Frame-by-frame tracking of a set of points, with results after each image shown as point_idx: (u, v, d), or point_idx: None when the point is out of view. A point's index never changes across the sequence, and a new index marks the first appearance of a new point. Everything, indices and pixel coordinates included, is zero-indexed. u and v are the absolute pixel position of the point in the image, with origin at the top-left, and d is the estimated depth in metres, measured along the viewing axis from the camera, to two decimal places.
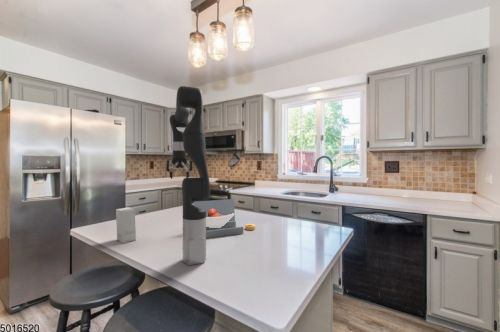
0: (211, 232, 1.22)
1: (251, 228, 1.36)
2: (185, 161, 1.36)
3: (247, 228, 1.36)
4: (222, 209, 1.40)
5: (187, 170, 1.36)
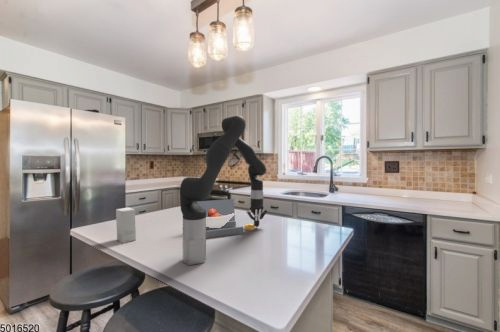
0: (211, 232, 1.22)
1: (250, 228, 1.35)
2: (262, 208, 1.40)
3: (246, 228, 1.36)
4: (222, 209, 1.40)
5: (258, 219, 1.39)
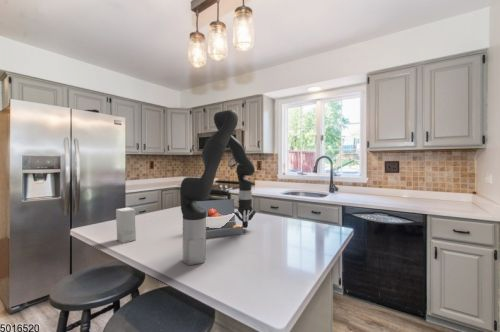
0: (211, 232, 1.22)
1: None
2: (251, 209, 1.37)
3: None
4: (222, 209, 1.40)
5: (246, 220, 1.36)
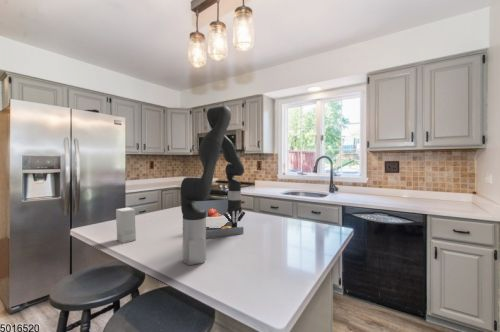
0: (211, 232, 1.22)
1: None
2: (240, 210, 1.34)
3: None
4: (222, 209, 1.40)
5: (235, 221, 1.33)
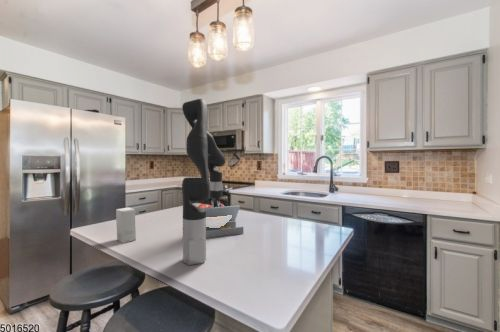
0: (211, 232, 1.22)
1: None
2: (215, 201, 1.32)
3: None
4: (225, 213, 1.34)
5: None
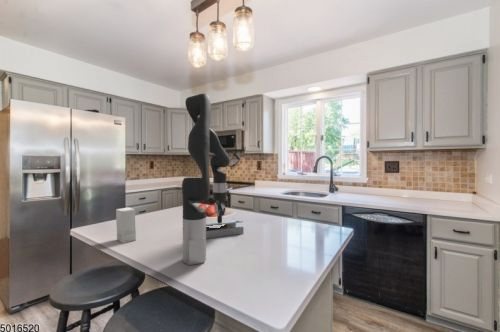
0: (211, 232, 1.22)
1: None
2: (219, 204, 1.25)
3: None
4: None
5: (217, 214, 1.28)
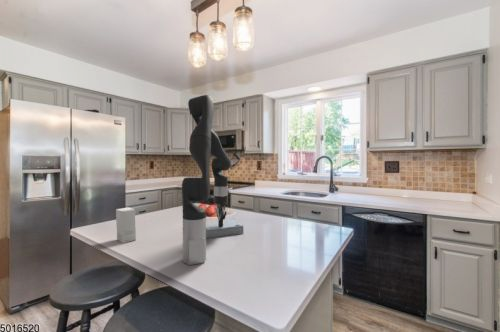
0: (211, 232, 1.22)
1: None
2: (220, 208, 1.24)
3: None
4: None
5: (218, 218, 1.26)
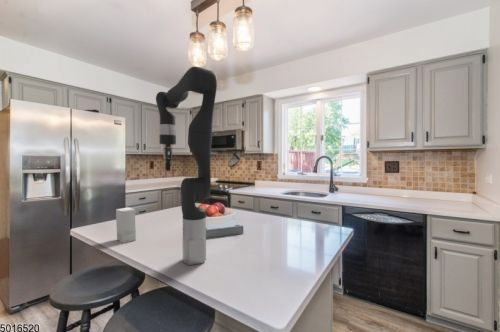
0: (211, 232, 1.22)
1: None
2: (166, 147, 1.11)
3: None
4: None
5: (165, 160, 1.14)
